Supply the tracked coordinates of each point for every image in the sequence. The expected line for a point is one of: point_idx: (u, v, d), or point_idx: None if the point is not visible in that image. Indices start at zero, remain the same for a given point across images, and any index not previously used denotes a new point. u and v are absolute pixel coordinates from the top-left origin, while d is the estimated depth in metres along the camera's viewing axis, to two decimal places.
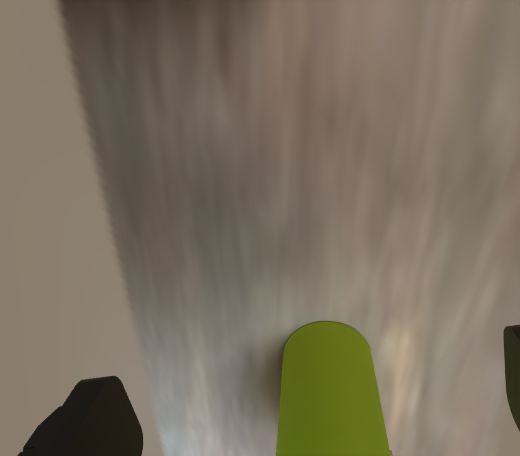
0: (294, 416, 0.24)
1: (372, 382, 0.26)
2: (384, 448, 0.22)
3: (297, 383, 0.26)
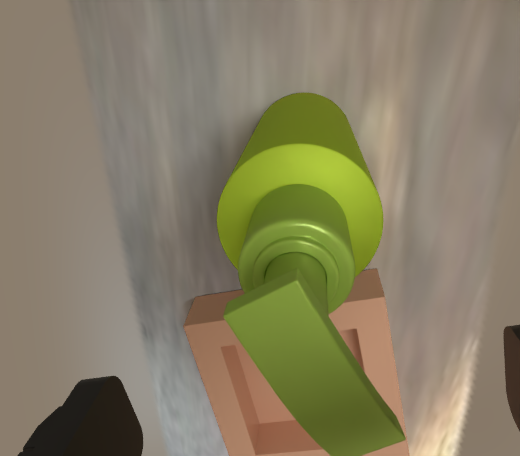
0: (257, 131, 0.21)
1: (349, 126, 0.24)
2: (357, 147, 0.20)
3: (264, 120, 0.23)
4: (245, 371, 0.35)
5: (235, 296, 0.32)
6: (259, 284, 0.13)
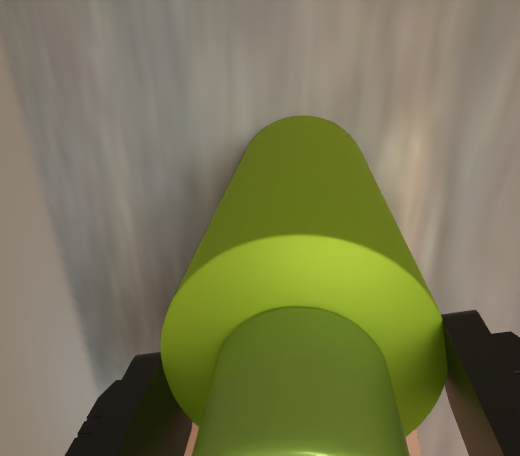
0: (236, 180, 0.14)
1: (367, 167, 0.17)
2: (389, 210, 0.13)
3: (248, 159, 0.16)
4: None
5: None
6: None
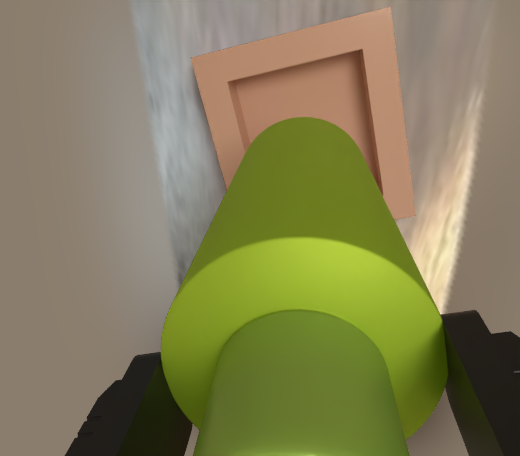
0: (237, 182, 0.14)
1: (368, 168, 0.17)
2: (389, 212, 0.13)
3: (248, 160, 0.16)
4: (251, 139, 0.35)
5: None
6: None
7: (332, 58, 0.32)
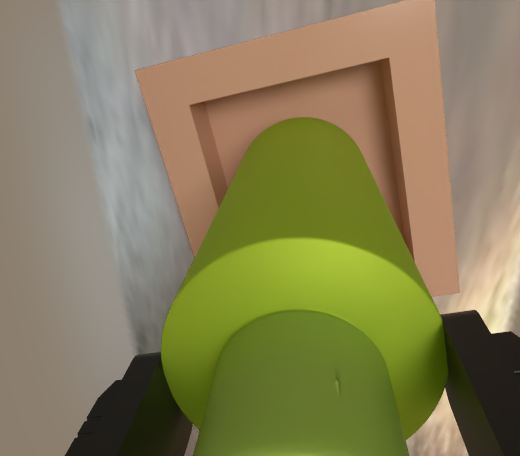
0: (237, 182, 0.14)
1: (368, 168, 0.17)
2: (389, 212, 0.13)
3: (248, 160, 0.16)
4: (228, 181, 0.25)
5: None
6: None
7: (342, 69, 0.23)
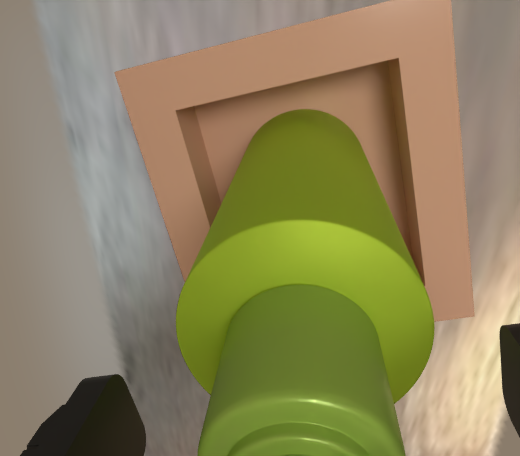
0: (242, 171, 0.15)
1: (365, 158, 0.18)
2: (384, 198, 0.14)
3: (252, 151, 0.17)
4: (221, 192, 0.23)
5: None
6: None
7: (345, 71, 0.20)
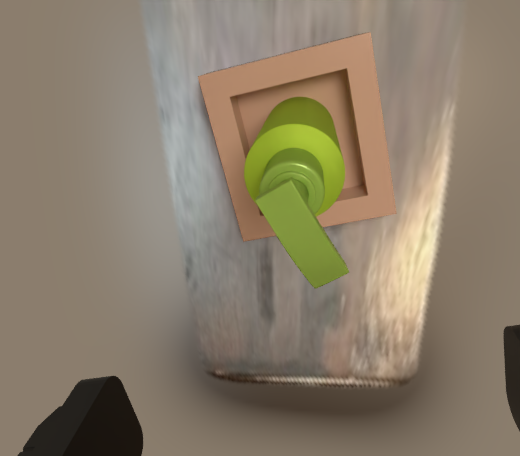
0: (267, 121, 0.32)
1: (330, 119, 0.34)
2: (333, 130, 0.30)
3: (271, 114, 0.34)
4: None
5: None
6: None
7: (322, 75, 0.37)
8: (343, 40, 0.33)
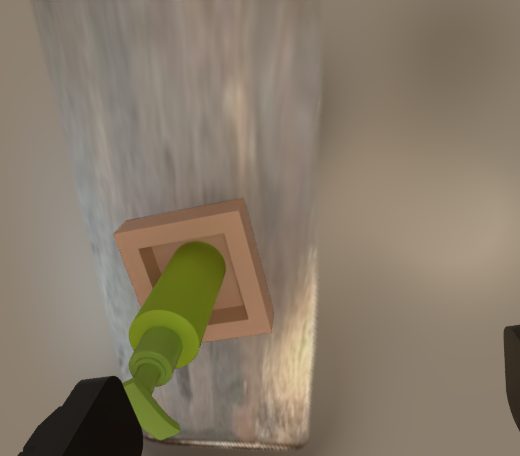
0: (158, 281, 0.42)
1: (212, 270, 0.45)
2: (203, 294, 0.41)
3: (166, 268, 0.44)
4: None
5: (151, 218, 0.48)
6: (135, 373, 0.34)
7: None
8: (219, 214, 0.44)
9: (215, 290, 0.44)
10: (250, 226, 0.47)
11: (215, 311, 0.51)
